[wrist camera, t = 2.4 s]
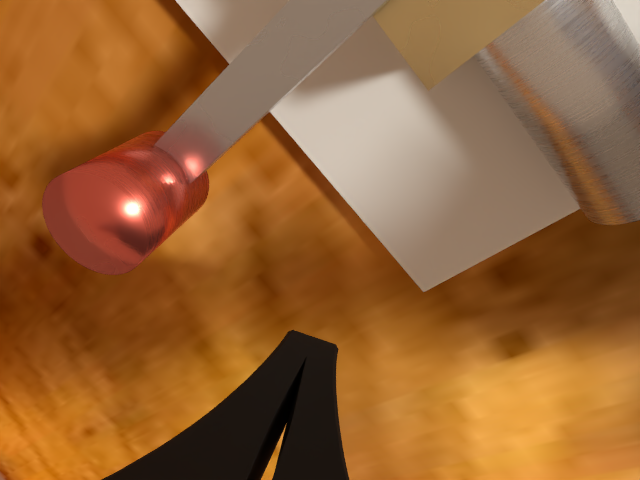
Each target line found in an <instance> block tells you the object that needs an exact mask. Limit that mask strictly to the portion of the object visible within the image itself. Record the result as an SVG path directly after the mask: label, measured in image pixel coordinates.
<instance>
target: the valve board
mask: <svg viewBox="0 0 640 480" xmlns="http://www.w3.org/2000/svg"><path fill="white" fill-rule="evenodd" d="M175 1H176V2H177V3H178V4H179V5H180V7H181V8H182V9H183V10H184V11H185V12H186V14H187V15H188V16H189V17H190V18H191V19H192V21H193V22H194V23H195V24H196V25H197V27H198V28H199V29H200V30H201V31H202V32H203V34H204V35H205V36H206V37H207V38H208V39H209V41H210V42H211V43H212V44H213V45H214V47H215V48H216V49H217V50H218V51H219V52H220V54H221V55H222V56H223V57H224V58H225V59H226V61H227V62H228V63H229V64H230V63H231V62H232V61H233V60H234V59H235V58H236V57H237V56H238V55H239V54H240V53H241V52H242V50H243V49H244V48H245V47H246V46H247V45H248V44H249V43H250V42H251V41H252V40H253V39H254V38H255V37H256V35H257V34H258V33H259V32H260V31H261V30H262V29H263V28H264V27H265V26H266V25H267V24H268V23H269V22H270V21H271V19H272V18H273V17H274V16H275V15H276V14H277V13H278V12H279V11H280V10H281V9H282V8H283V7H284V6H285V4H286V3H287V2H288V1H289V0H175ZM613 1H614V3H615V5H616V6H617V8H618V10H619V11H620V13H621V15H622V16H623V18H624V20H625V21H626V23H627V25H628V26H629V28H630V30H631V31H632V33H633V35H634V36H635V38H636V40H637V41H638V43H639V45H640V0H613ZM270 112H271V114H272V115H273V116H274V117H275V118H276V119H277V121H278V122H279V123H280V124H281V125H282V126H283V128H284V129H285V130H286V131H287V132H288V134H289V135H290V136H291V137H292V138H293V139H294V141H295V142H296V143H297V144H298V145H299V146H300V148H301V149H302V150H303V151H304V152H305V154H306V155H307V156H308V157H309V158H310V159H311V161H312V162H313V163H314V164H315V165H316V166H317V168H318V169H319V170H320V171H321V172H322V174H323V175H324V176H325V177H326V178H327V179H328V181H329V182H330V183H331V184H332V185H333V186H334V188H335V189H336V190H337V191H338V192H339V193H340V195H341V196H342V197H343V198H344V199H345V201H346V202H347V203H348V204H349V205H350V206H351V208H352V209H353V210H354V211H355V212H356V213H357V215H358V216H359V217H360V218H361V219H362V221H363V222H364V223H365V224H366V225H367V226H368V228H369V229H370V230H371V231H372V232H373V233H374V235H375V236H376V237H377V238H378V239H379V241H380V242H381V243H382V244H383V245H384V246H385V248H386V249H387V250H388V251H389V252H390V253H391V255H392V256H393V257H394V258H395V259H396V261H397V262H398V263H399V264H400V265H401V266H402V268H403V269H404V270H405V271H406V272H407V273H408V275H409V276H410V277H411V278H412V279H413V280H414V282H415V283H416V284H417V285H418V286H419V288H420V289H421V290H422V291H423V292H425V291H427V290H429V289H431V288H433V287H435V286H436V285H438V284H440V283H442V282H444V281H446V280H448V279H450V278H451V277H453V276H455V275H457V274H459V273H461V272H463V271H465V270H466V269H468V268H470V267H472V266H474V265H476V264H478V263H479V262H481V261H483V260H485V259H487V258H489V257H491V256H493V255H494V254H496V253H498V252H500V251H502V250H504V249H506V248H508V247H509V246H511V245H513V244H515V243H517V242H519V241H521V240H522V239H524V238H526V237H528V236H530V235H532V234H534V233H536V232H537V231H539V230H541V229H543V228H545V227H547V226H549V225H551V224H552V223H554V222H556V221H558V220H560V219H562V218H564V217H565V216H567V215H569V214H571V213H573V212H575V211H577V210H579V209H580V207H579V206H578V204H577V203H576V201H575V200H574V198H573V197H572V196H571V194H570V193H569V191H568V190H567V188H566V187H565V186H564V184H563V183H562V181H561V180H560V178H559V177H558V176H557V174H556V173H555V171H554V170H553V168H552V167H551V166H550V164H549V163H548V161H547V160H546V158H545V157H544V156H543V154H542V153H541V151H540V150H539V148H538V147H537V146H536V144H535V143H534V141H533V140H532V138H531V137H530V136H529V134H528V133H527V131H526V130H525V128H524V127H523V126H522V124H521V123H520V121H519V120H518V118H517V117H516V116H515V114H514V113H513V111H512V110H511V108H510V107H509V106H508V104H507V103H506V101H505V100H504V98H503V97H502V96H501V94H500V93H499V91H498V90H497V88H496V87H495V85H494V84H493V83H492V81H491V80H490V78H489V77H488V75H487V74H486V73H485V71H484V70H483V68H482V67H481V65H480V64H479V63H478V61H477V60H476V58H475V57H474V56H473V57H471V58H470V59H469V60H468V61H466V62H465V63H464V64H462V65H461V66H460V67H459V68H457V69H456V70H455V71H453V72H452V73H451V74H450V75H448V76H447V77H446V78H444V79H443V80H442V81H441V82H439V83H438V84H437V85H435V86H434V87H433V88H432V89H430V90H429V91H428V90H427V89H426V87H425V86H424V84H423V83H422V82H421V80H420V79H419V78H418V76H417V75H416V74H415V72H414V71H413V70H412V68H411V67H410V66H409V64H408V63H407V62H406V60H405V59H404V58H403V56H402V55H401V54H400V52H399V51H398V49H397V48H396V47H395V45H394V44H393V43H392V41H391V40H390V39H389V37H388V36H387V35H386V33H385V32H384V31H383V29H382V28H381V27H380V25H379V24H378V23H377V21H376V20H375V18H374V17H373V16H372V17H371V18H370V19H369V20H368V21H366V22H365V23H364V24H363V25H362V26H361V27H360V28H359V29H358V30H357V31H356V32H355V33H354V34H353V35H351V36H350V37H349V38H348V39H347V40H346V41H345V42H344V43H343V44H342V45H341V46H340V47H339V48H338V49H336V50H335V51H334V52H333V53H332V54H331V55H330V56H329V57H328V58H327V59H326V60H325V61H324V62H322V63H321V64H320V65H319V66H318V67H317V68H316V69H315V70H314V71H313V72H312V73H311V74H310V75H309V76H307V77H306V78H305V79H304V80H303V81H302V82H301V83H300V84H299V85H298V86H297V87H296V88H295V89H294V90H292V91H291V92H290V93H289V94H288V95H287V96H286V97H285V98H284V99H283V100H282V101H281V102H280V103H279V104H277V105H276V106H275V107H274V108H273V109H272V110H271V111H270Z"/></svg>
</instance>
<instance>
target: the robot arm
mask: <svg viewBox="0 0 640 480" xmlns="http://www.w3.org/2000/svg"><path fill="white" fill-rule="evenodd" d="M337 353H338V348H337V346H336V345H335V344H333V343H330V342H327V341H324V340H321V339H318V338H315V337H312V336H309V335H306V334H303V333H300V332H297V331H294V330H292V331H289V332H288V333H287V334H286V336H285V337H284V339H283V340H282V341H281V343H280V344H279V345H278V347H277V348H276V349H275V350H274V351H273V353H272V354H271V355H270V356H269V357H268V358H267V359H266V360H265V361H264V363H263V364H262V365H261V366H260V367H259V368H258V369H257V370H256V371H255V372H254V373H253V374H252V375H251V376H250V377H249V378H248V379H247V380H246V381H245V382H244V383H242V384H241V385H240V386H239V387H238V388H237V389H236V390H235V391H233V392H232V393H231V394H230V395H229V396H228V397H227V398H226V399H224V400H223V401H222V402H221V403H220V404H218V405H217V406H216V407H215V408H214V409H212V410H211V411H210V412H209V413H207V414H206V415H205V416H203V417H202V418H201V419H199V420H198V421H197V422H195V423H194V424H193V425H191V426H190V427H188V428H187V429H185V430H184V431H183V432H181V433H180V434H178V435H177V436H175V437H174V438H172V439H171V440H169V441H168V442H166V443H165V444H163V445H162V446H160V447H159V448H157V449H155V450H154V451H152V452H150V453H148V454H147V455H145V456H143V457H142V458H140V459H138V460H136V461H135V462H133V463H131V464H130V465H128V466H126V467H125V468H123V469H121V470H119V471H117V472H115V473H114V474H112V475H110V476H108V477H106V478H104V479H102V480H261V478H262V476H263V474H264V471H265V469H266V467H267V465H268V463H269V460H270V458H271V456H272V454H273V452H274V450H275V447H276V445H277V443H278V441H279V439H280V436H281V434H282V432H283V430H284V428H285V425H286V428H285V432H284V436H283V440H282V444H281V449H280V453H279V457H278V461H277V465H276V469H275V473H274V476H273V478H272V480H349V477H348V472H347V468H346V463H345V458H344V452H343V447H342V440H341V433H340V426H339V418H338V407H337V395H336V361H337ZM286 423H287V424H286Z"/></svg>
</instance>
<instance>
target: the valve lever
mask: <svg viewBox="0 0 640 480" xmlns="http://www.w3.org/2000/svg"><path fill="white" fill-rule="evenodd" d="M388 1H389V0H289V1H288V2H287V3H286V4H285V6H284V7H283V8H282V9H281V10H280V11H279V12H278V13H277V14H276V15H275V16H274V17H273V18H272V19H271V21H270V22H269V23H268V24H267V25H266V26H265V27H264V28H263V29H262V30H261V31H260V32H259V33H258V34H257V35H256V37H255V38H254V39H253V40H252V41H251V42H250V43H249V44H248V45H247V46H246V47H245V48H244V49H243V50H242V52H241V53H240V54H239V55H238V56H237V57H236V58H235V59H234V60H233V61H232V62H231V63H230V64H229V65H228V66H227V68H226V69H225V70H224V71H223V72H222V73H221V74H220V75H219V76H218V77H217V78H216V79H215V80H214V81H213V82H212V84H211V85H210V86H209V87H208V88H207V89H206V90H205V91H204V92H203V93H202V94H201V95H200V96H199V97H198V99H197V100H196V101H195V102H194V103H193V104H192V105H191V106H190V107H189V108H188V109H187V110H186V111H185V112H184V113H183V115H182V116H181V117H180V118H179V119H178V120H177V121H176V122H175V123H174V124H173V125H172V126H171V127H170V128H169V129H168V131H167V132H163V131H150V132H146V133H143V134H141V135H139V136H137V137H135V138H133V139H131V140H129V141H127V142H125V143H123V144H121V145H119V146H117V147H115V148H113V149H111V150H109V151H107V152H105V153H103V154H101V155H99V156H97V157H95V158H93V159H91V160H89V161H87V162H85V163H83V164H81V165H79V166H77V167H75V168H73V169H71V170H69V171H67V172H65V173H63V174H61V175H59V176H57V177H56V178H54V179H53V180H52V181H51V182H50V183H49V184H48V186H47V187H46V189H45V192H44V195H43V202H42V207H43V215H44V219H45V222H46V225H47V227H48V229H49V231H50V233H51V235H52V236H53V238H54V239H55V241H56V242H57V244H58V245H59V246H60V247H61V248H62V249H63V250H64V252H65V253H66V254H68V255H69V256H70V257H71V258H72V259H73V260H75V261H76V262H78V263H79V264H81V265H82V266H84V267H86V268H88V269H90V270H93V271H95V272H99V273H102V274H109V275H118V274H123V273H127V272H129V271H131V270H133V269H134V268H135V267H137V266H138V265H139V264H140V263H141V262H142V261H143V260H144V259H145V258H146V257H148V256H149V255H150V254H151V253H152V252H153V251H154V250H155V249H156V248H157V247H158V246H160V245H161V244H162V243H163V242H164V241H165V240H166V239H167V238H168V237H169V236H170V235H171V234H173V233H174V232H175V231H176V230H177V229H178V228H179V227H180V226H181V225H182V224H183V223H185V222H186V221H187V220H188V219H189V218H190V217H191V216H192V215H193V214H194V213H195V212H197V211H198V210H199V209H200V208H201V207H202V205H203V204H204V202H205V201H206V198H207V195H208V191H209V179H208V174H207V170H208V169H209V168H210V167H211V166H212V165H213V164H214V163H215V162H216V161H217V160H218V159H219V158H221V157H222V156H223V155H224V154H225V153H226V152H227V151H228V150H229V149H230V148H231V147H232V146H233V145H235V144H236V143H237V142H238V141H239V140H240V139H241V138H242V137H243V136H244V135H245V134H246V133H247V132H248V131H250V130H251V129H252V128H253V127H254V126H255V125H256V124H257V123H258V122H259V121H260V120H261V119H262V118H263V117H265V116H266V115H267V114H268V113H269V112H270V111H271V110H272V109H273V108H274V107H275V106H276V105H277V104H279V103H280V102H281V101H282V100H283V99H284V98H285V97H286V96H287V95H288V94H289V93H290V92H291V91H292V90H294V89H295V88H296V87H297V86H298V85H299V84H300V83H301V82H302V81H303V80H304V79H305V78H306V77H307V76H309V75H310V74H311V73H312V72H313V71H314V70H315V69H316V68H317V67H318V66H319V65H320V64H321V63H322V62H324V61H325V60H326V59H327V58H328V57H329V56H330V55H331V54H332V53H333V52H334V51H335V50H336V49H338V48H339V47H340V46H341V45H342V44H343V43H344V42H345V41H346V40H347V39H348V38H349V37H350V36H351V35H353V34H354V33H355V32H356V31H357V30H358V29H359V28H360V27H361V26H362V25H363V24H364V23H365V22H366V21H368V20H369V19H370V18H371V17H372V16H373V15H374V14H375V13H376V12H377V11H378V10H379V9H380V8H382V7H383V6H384V5H385V4H386V3H387V2H388Z"/></svg>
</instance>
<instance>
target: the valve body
mask: <svg viewBox="0 0 640 480" xmlns="http://www.w3.org/2000/svg"><path fill="white" fill-rule="evenodd" d="M373 17H374V18H375V20H376V21H377V23H378V24H379V25H380V27H381V28H382V29H383V31H384V32H385V33H386V35H387V36H388V37H389V39H390V40H391V41H392V43H393V44H394V45H395V47H396V48H397V49H398V51H399V52H400V54H401V55H402V56H403V58H404V59H405V60H406V62H407V63H408V64H409V66H410V67H411V68H412V70H413V71H414V72H415V74H416V75H417V76H418V78H419V79H420V80H421V82H422V83H423V84H424V86H425V87H426V89H427V90H428V91H429V90H430V89H432V88H433V87H434V86H435V85H437V84H438V83H439V82H441V81H442V80H443V79H444V78H446V77H447V76H448V75H450V74H451V73H452V72H453V71H455V70H456V69H457V68H459V67H460V66H461V65H462V64H464V63H465V62H466V61H468V60H469V59H470V58H471V57H473V56H474V57H475V58H476V60H477V61H478V63H479V64H480V65H481V67H482V68H483V70H484V71H485V73H486V74H487V75H488V77H489V78H490V80H491V81H492V83H493V84H494V85H495V87H496V88H497V90H498V91H499V93H500V94H501V96H502V97H503V98H504V100H505V101H506V103H507V104H508V106H509V107H510V108H511V110H512V111H513V113H514V114H515V116H516V117H517V118H518V120H519V121H520V123H521V124H522V126H523V127H524V128H525V130H526V131H527V133H528V134H529V136H530V137H531V138H532V140H533V141H534V143H535V144H536V146H537V147H538V148H539V150H540V151H541V153H542V154H543V156H544V157H545V158H546V160H547V161H548V163H549V164H550V166H551V167H552V168H553V170H554V171H555V173H556V174H557V176H558V177H559V178H560V180H561V181H562V183H563V184H564V186H565V187H566V188H567V190H568V191H569V193H570V194H571V196H572V197H573V198H574V200H575V201H576V203H577V204H578V206H579V207H580V208H581V210H582V211H583V213H584V214H585V216H586V217H587V218H588V219H589V220H590V221H592V222H594V223H597V224H602V225H618V224H625V223H630V222H634V221H638V220H640V45H639V43H638V41H637V40H636V38H635V36H634V35H633V33H632V31H631V30H630V28H629V26H628V25H627V23H626V21H625V20H624V18H623V16H622V15H621V13H620V11H619V10H618V8H617V6H616V5H615V3H614V1H613V0H389V1H388V2H387V3H386V4H385V5H384V6H383V7H382V8H380V9H379V10H378V11H377V12H376V13H375V14H374V15H373Z"/></svg>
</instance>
